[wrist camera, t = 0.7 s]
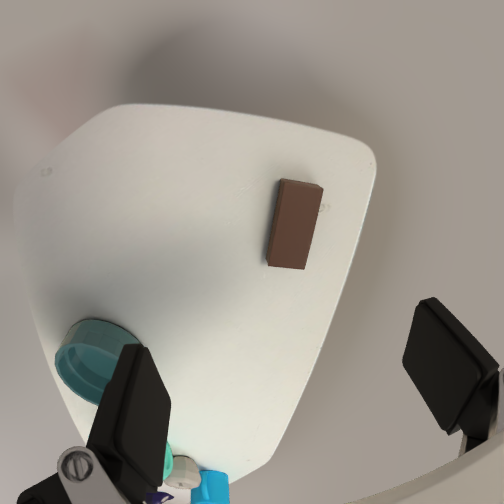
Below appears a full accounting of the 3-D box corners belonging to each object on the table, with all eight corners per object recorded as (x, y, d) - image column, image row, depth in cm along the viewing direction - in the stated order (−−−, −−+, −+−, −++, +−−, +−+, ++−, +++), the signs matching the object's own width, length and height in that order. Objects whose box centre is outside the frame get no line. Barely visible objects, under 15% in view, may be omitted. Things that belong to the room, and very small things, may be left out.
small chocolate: (280, 178, 26) (284, 181, 24) (317, 184, 27) (323, 188, 25) (265, 258, 29) (268, 266, 28) (300, 261, 30) (304, 269, 28)
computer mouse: (180, 500, 58) (179, 511, 54) (139, 499, 59) (138, 510, 56) (161, 490, 54) (160, 502, 51) (120, 489, 55) (118, 500, 52)
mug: (230, 481, 52) (232, 510, 44) (195, 482, 51) (195, 510, 44) (223, 463, 47) (224, 497, 39) (183, 463, 46) (181, 496, 39)
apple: (188, 449, 44) (187, 478, 38) (209, 464, 47) (209, 491, 41) (154, 453, 44) (150, 480, 38) (176, 468, 48) (174, 493, 42)
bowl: (54, 332, 31) (38, 356, 27) (112, 303, 30) (98, 331, 25) (107, 389, 36) (98, 414, 31) (168, 370, 35) (163, 400, 30)
